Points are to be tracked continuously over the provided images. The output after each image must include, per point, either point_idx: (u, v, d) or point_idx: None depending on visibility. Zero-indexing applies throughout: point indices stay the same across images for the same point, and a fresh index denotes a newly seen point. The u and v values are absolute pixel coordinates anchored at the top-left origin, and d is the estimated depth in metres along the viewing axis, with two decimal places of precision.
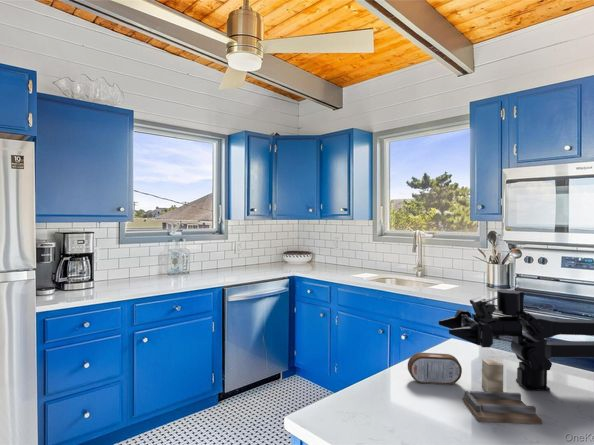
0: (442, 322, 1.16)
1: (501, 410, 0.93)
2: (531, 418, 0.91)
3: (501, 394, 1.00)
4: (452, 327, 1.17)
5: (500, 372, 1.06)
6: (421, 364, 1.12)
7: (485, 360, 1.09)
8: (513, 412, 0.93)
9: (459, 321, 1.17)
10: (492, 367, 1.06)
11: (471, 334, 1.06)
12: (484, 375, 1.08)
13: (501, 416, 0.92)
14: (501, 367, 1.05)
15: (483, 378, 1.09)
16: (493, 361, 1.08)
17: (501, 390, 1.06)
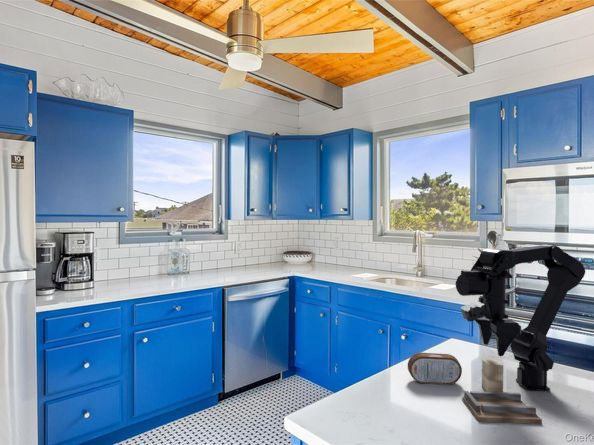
0: (485, 341, 1.12)
1: (501, 410, 0.93)
2: (531, 418, 0.91)
3: (501, 394, 1.00)
4: (490, 329, 1.12)
5: (500, 372, 1.06)
6: (421, 364, 1.12)
7: (485, 360, 1.09)
8: (513, 412, 0.93)
9: (484, 322, 1.12)
10: (492, 367, 1.06)
11: (505, 336, 1.02)
12: (484, 375, 1.08)
13: (501, 416, 0.92)
14: (501, 367, 1.05)
15: (483, 378, 1.09)
16: (493, 361, 1.08)
17: (501, 390, 1.06)
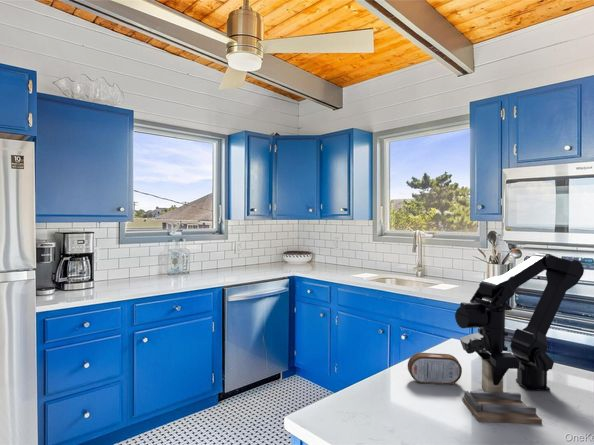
0: None
1: (501, 410, 0.93)
2: (531, 418, 0.91)
3: (501, 394, 1.00)
4: None
5: None
6: (421, 364, 1.12)
7: (485, 360, 1.09)
8: (513, 412, 0.93)
9: (487, 355, 1.10)
10: None
11: None
12: (484, 375, 1.08)
13: (501, 416, 0.92)
14: None
15: (483, 378, 1.09)
16: None
17: (501, 390, 1.06)
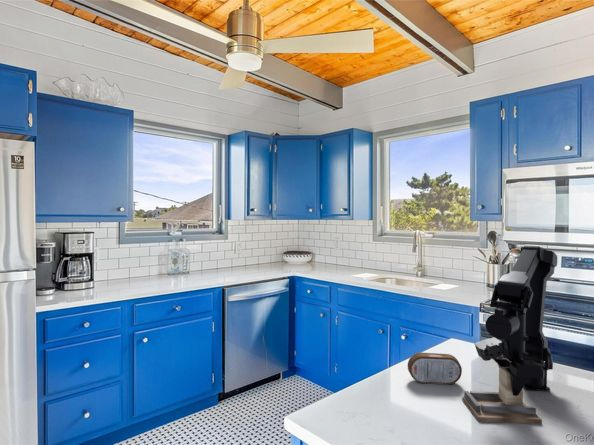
0: None
1: (501, 410, 0.93)
2: (531, 418, 0.91)
3: None
4: None
5: None
6: (421, 364, 1.12)
7: (502, 367, 0.98)
8: (513, 412, 0.93)
9: (505, 362, 1.00)
10: None
11: None
12: (502, 384, 0.97)
13: (501, 416, 0.92)
14: None
15: (500, 388, 0.98)
16: None
17: (521, 401, 0.95)
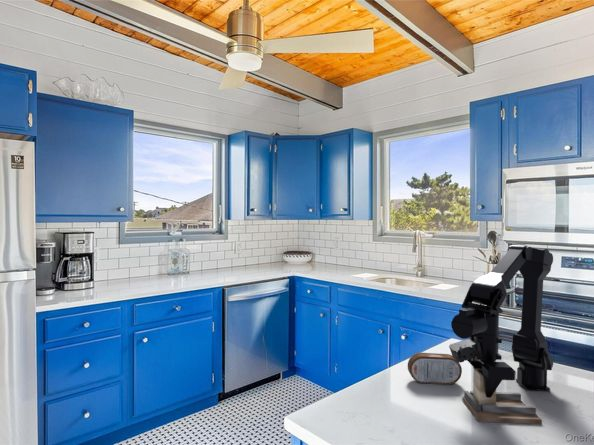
0: None
1: (501, 410, 0.93)
2: (531, 418, 0.91)
3: (501, 394, 1.00)
4: None
5: None
6: (421, 364, 1.12)
7: (477, 369, 0.99)
8: (513, 412, 0.93)
9: (480, 364, 1.00)
10: None
11: None
12: (476, 386, 0.98)
13: (501, 416, 0.92)
14: None
15: (474, 389, 0.99)
16: None
17: (494, 403, 0.95)
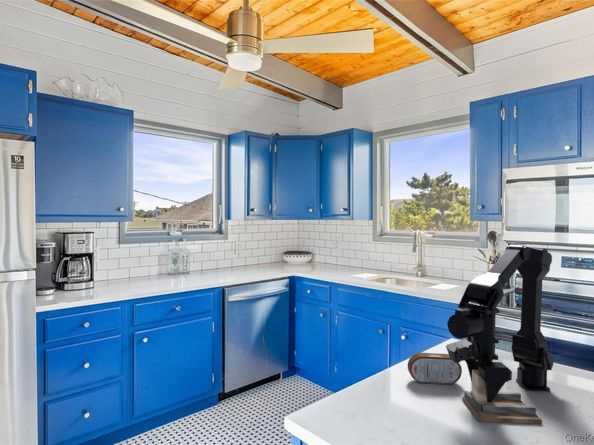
0: None
1: (501, 410, 0.93)
2: (531, 418, 0.91)
3: (501, 394, 1.00)
4: None
5: None
6: (421, 364, 1.12)
7: (475, 370, 0.99)
8: (513, 412, 0.93)
9: (473, 360, 1.03)
10: None
11: None
12: (474, 387, 0.98)
13: (501, 416, 0.92)
14: None
15: (473, 391, 0.99)
16: None
17: None
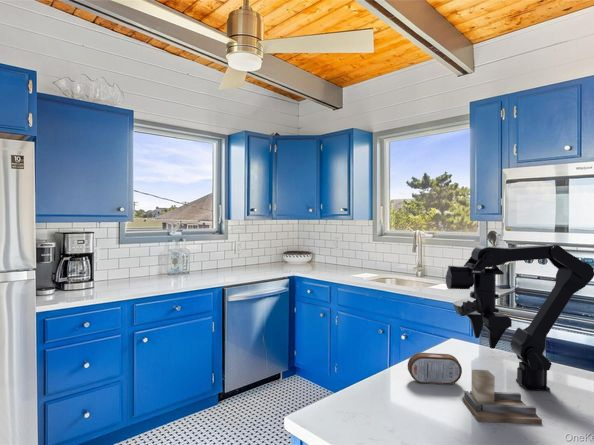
0: (477, 334, 1.16)
1: (501, 410, 0.93)
2: (531, 418, 0.91)
3: (501, 394, 1.00)
4: (481, 323, 1.17)
5: (491, 384, 0.95)
6: (421, 364, 1.12)
7: (475, 370, 0.99)
8: (513, 412, 0.93)
9: (475, 316, 1.17)
10: (482, 378, 0.96)
11: (496, 329, 1.06)
12: (474, 387, 0.98)
13: (501, 416, 0.92)
14: (492, 379, 0.95)
15: (473, 391, 0.99)
16: (484, 372, 0.98)
17: None
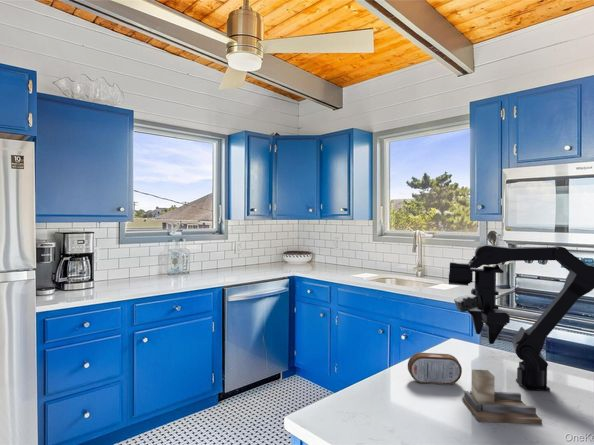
0: (477, 330, 1.20)
1: (501, 410, 0.93)
2: (531, 418, 0.91)
3: (501, 394, 1.00)
4: (482, 320, 1.20)
5: (491, 384, 0.95)
6: (421, 364, 1.12)
7: (475, 370, 0.99)
8: (513, 412, 0.93)
9: (477, 313, 1.20)
10: (482, 378, 0.96)
11: (495, 325, 1.10)
12: (474, 387, 0.98)
13: (501, 416, 0.92)
14: (492, 379, 0.95)
15: (473, 391, 0.99)
16: (484, 372, 0.98)
17: None
